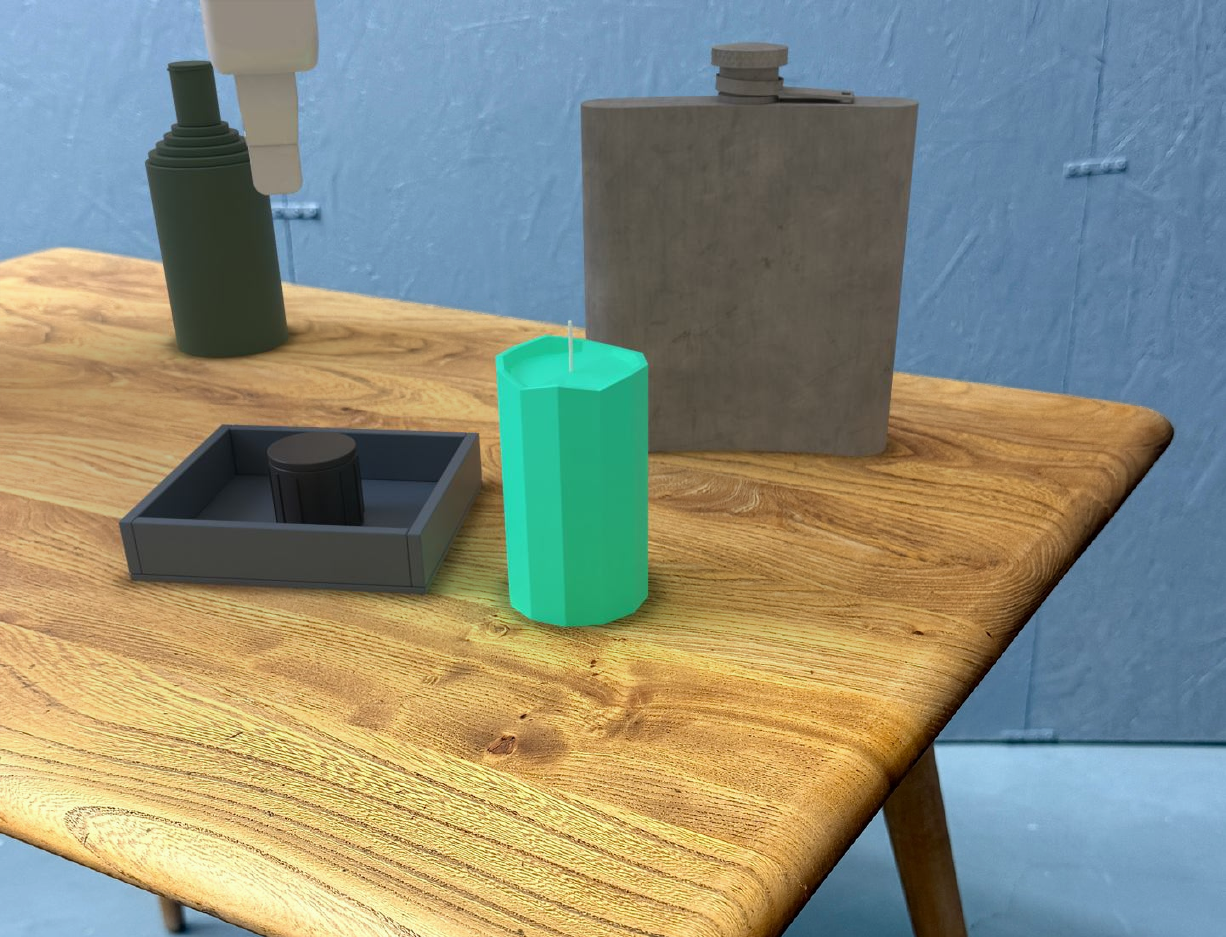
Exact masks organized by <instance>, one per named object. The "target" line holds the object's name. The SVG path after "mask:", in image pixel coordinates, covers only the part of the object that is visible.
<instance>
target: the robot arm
mask: <svg viewBox="0 0 1226 937" xmlns="http://www.w3.org/2000/svg"><path fill="white" fill-rule="evenodd" d="M316 4H317V3H316V0H199V7H200V14H201V20H202V26H203V27H202V28H203V34H204V38H205V39H204V40H205V46H206V50H207V54H208V57H209V61H210V62H211V63H212V66H213V70H214V71H216V72H217V73H220V74H222V75H228V76H230V75H231V76H233V82H234V86H235V90H236V91H235V93H236V98H237V103H238V108H239V111H240V117H241V124H242V131H243V136H244V138H245V142H246V145H247V146H248V150H249V157H250V163H251V170H252V177H253V184H254V186H255V188H256V189H257V191H258V192H260V193H262V194H264V195H270V196H277V195H293V194H295V193H297V192H298V191H299V190H301V188H302V186H303V182H304V181H303V172H302V164H301V155H300V154H301V153H300V146H299V94H298V93H299V92H298V85H297V76H296V73H303V72H309V71H312V70H314V69H315V68H316V67H317V65H318V63H319V55H320V32H319V23H318V14H317V5H316Z"/></svg>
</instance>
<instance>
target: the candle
mask: <svg viewBox="0 0 1226 937" xmlns="http://www.w3.org/2000/svg"><path fill="white" fill-rule="evenodd" d="M567 326H568V327H567V328H568V329H567V330H568V332H567V333H568V336H561V335H552V334H542V335H541V336H538V337H534V338H532V339H529V340H527V341H524V342H521V343H518V344H515V345H513V346H511V347H509V348H507V349H505V350H504V351H501V352H500V353H498V354H496V355H495V356H494V357H495V372H496V373H495V374H496V389H497V390H496V391H497V409H498V424H499V425H498V426H499V427H498V428H499V441H500V442H499V443H500V461H501V474H502V475H501V476H502V477H501V478H502V493H503V494H502V496H503V509H504V510H503V511H504V512H503V513H504V527H505V528H504V529H505V544H506V561H507V562H506V563H507V578H508V579H507V580H508V591H509V592H508V594H509V603H510V606H511V607H512V608H513V609H514V610H517V611H518V612H519V613H521V614H522V615H523V616H525V617H526V618H528V619H529V620H530V621H536V622H540V623H545V624H550V625H555V626H558V627H559V626H560V627H564V628H570V627H585V626H598V625H599V626H600V625H605V624H609V623H611V622H613V621H616V620H619V619H621V618H624V617H627V616H629V615H632V614H634V613H635V612H636V611H637V610H638V609H639V608H640V607H641V606H642V604H644V602H645V601H646V600H647V598H648V597H649V452H648V363H647V361H646V359H645V357H644V355H643V353H640V352H636V351H633V350H629V349H625V348H621V347H617V346H612V345H608V344H603V343H599V342H595V341H590V340H586V338H578V337H573V321H572V320H571V319H570V320H568V321H567Z"/></svg>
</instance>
